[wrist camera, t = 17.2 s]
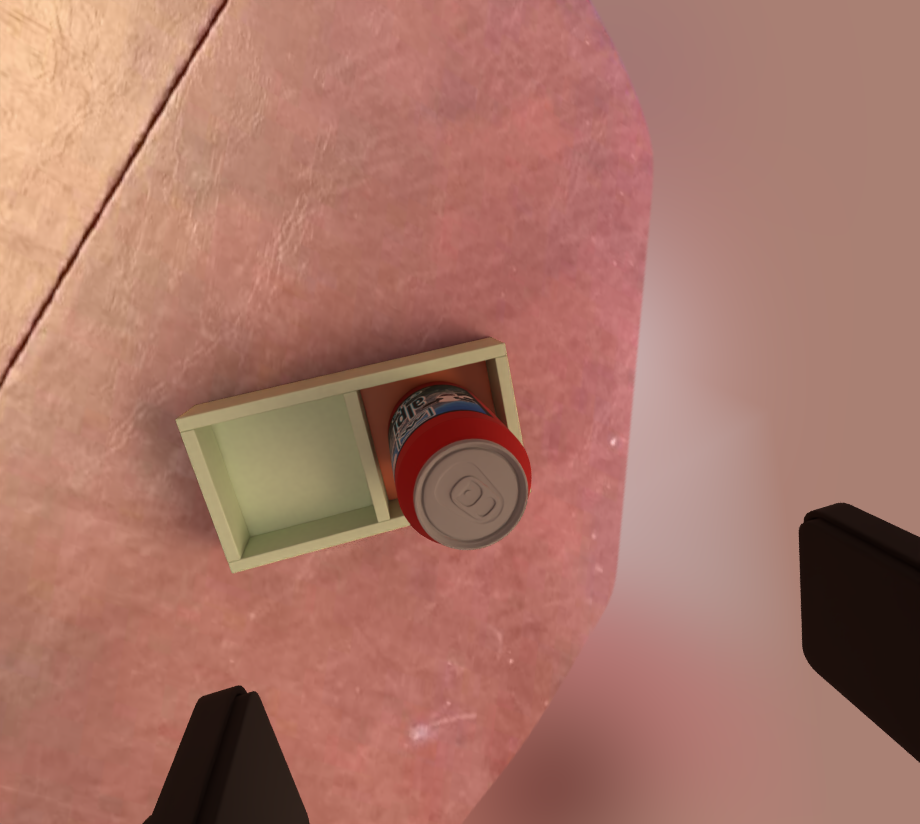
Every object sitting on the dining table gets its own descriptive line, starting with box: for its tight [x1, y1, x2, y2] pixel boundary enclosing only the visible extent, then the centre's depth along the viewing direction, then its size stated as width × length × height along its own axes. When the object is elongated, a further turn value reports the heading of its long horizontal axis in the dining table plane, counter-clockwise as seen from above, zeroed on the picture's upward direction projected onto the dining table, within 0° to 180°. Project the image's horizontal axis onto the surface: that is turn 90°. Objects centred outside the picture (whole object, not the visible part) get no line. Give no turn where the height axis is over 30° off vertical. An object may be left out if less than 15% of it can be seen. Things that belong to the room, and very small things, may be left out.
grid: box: [175, 337, 531, 573], centre depth 34 cm, size 10×20×4 cm, turn 101°
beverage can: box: [388, 381, 531, 550], centre depth 30 cm, size 7×7×12 cm
